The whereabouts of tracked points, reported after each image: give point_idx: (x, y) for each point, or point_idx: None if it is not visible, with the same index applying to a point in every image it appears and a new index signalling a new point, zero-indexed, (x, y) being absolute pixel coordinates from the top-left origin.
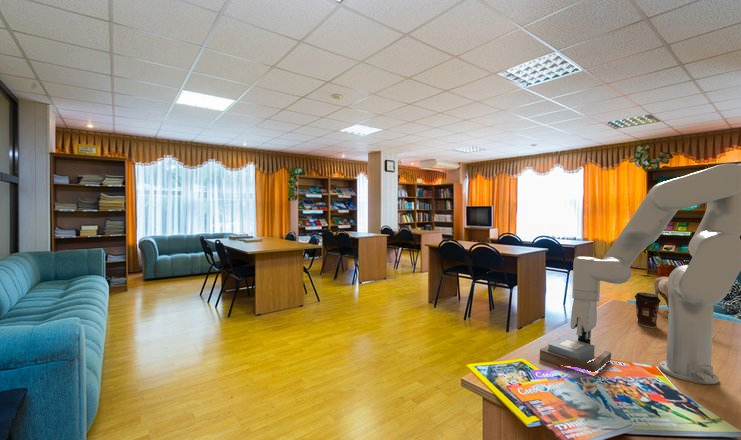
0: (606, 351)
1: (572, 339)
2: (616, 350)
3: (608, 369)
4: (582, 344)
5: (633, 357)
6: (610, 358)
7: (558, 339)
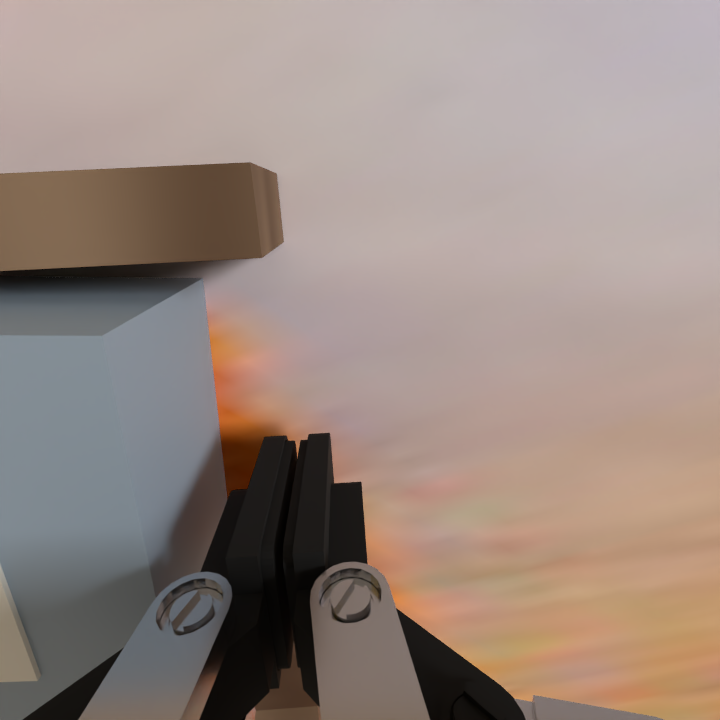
0: (309, 714)
1: (108, 491)
2: (672, 581)
3: None
4: (26, 664)
5: (585, 685)
6: None
7: (155, 181)
